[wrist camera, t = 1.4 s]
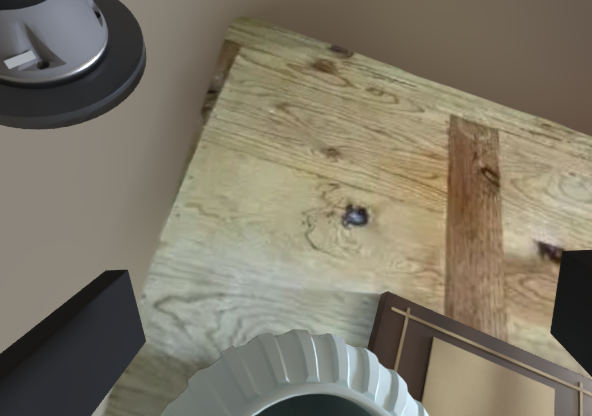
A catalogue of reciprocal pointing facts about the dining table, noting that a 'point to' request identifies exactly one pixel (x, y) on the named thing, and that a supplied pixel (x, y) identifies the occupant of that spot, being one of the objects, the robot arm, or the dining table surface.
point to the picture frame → (470, 367)
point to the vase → (296, 381)
